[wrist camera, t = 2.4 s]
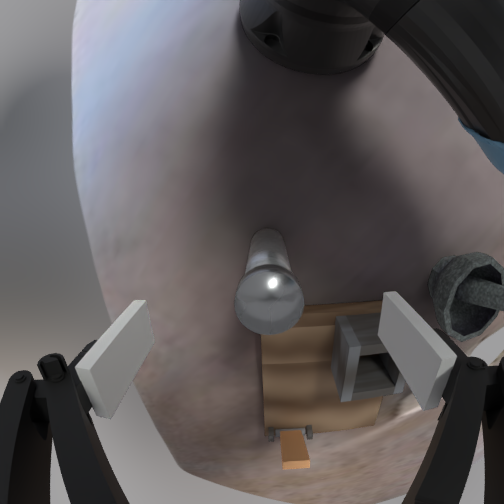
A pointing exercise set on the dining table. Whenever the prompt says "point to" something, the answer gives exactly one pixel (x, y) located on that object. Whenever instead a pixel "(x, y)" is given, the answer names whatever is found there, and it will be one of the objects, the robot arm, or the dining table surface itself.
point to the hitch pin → (268, 287)
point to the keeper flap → (293, 448)
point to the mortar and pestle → (467, 293)
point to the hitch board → (327, 370)
